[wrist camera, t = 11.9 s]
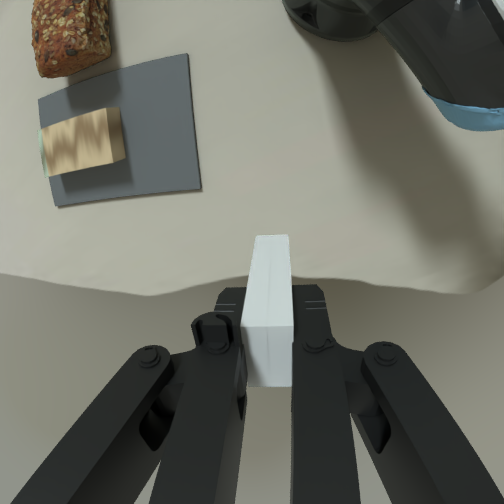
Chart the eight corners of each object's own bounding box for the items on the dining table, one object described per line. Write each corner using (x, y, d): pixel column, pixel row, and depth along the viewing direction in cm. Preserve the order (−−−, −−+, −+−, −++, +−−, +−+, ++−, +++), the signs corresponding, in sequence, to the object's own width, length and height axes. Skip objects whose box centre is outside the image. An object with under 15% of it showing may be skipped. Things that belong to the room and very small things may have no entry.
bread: (116, 57, 35) (80, 49, 26) (64, 80, 37) (24, 81, 28) (110, -32, 27) (78, -51, 18) (59, -6, 29) (24, -17, 20)
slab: (119, 107, 38) (52, 127, 40) (105, 107, 35) (37, 130, 36) (125, 157, 42) (59, 171, 43) (113, 162, 38) (45, 177, 39)
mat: (40, 99, 38) (38, 99, 37) (187, 53, 35) (186, 53, 34) (57, 205, 46) (55, 206, 46) (201, 187, 44) (200, 188, 43)
